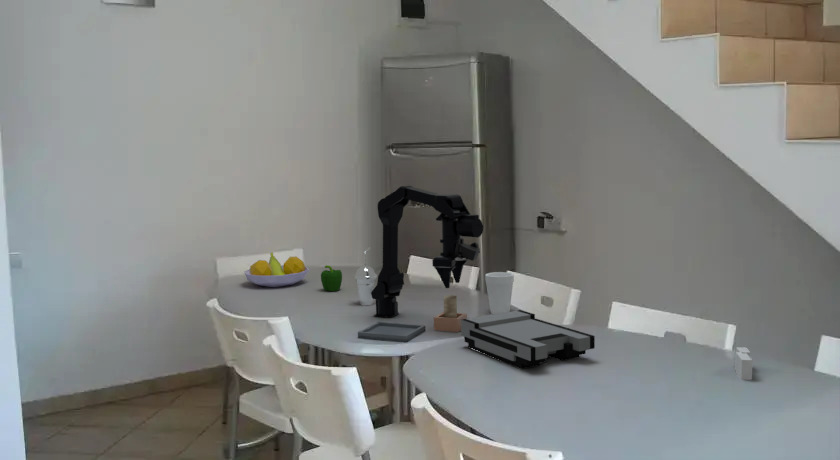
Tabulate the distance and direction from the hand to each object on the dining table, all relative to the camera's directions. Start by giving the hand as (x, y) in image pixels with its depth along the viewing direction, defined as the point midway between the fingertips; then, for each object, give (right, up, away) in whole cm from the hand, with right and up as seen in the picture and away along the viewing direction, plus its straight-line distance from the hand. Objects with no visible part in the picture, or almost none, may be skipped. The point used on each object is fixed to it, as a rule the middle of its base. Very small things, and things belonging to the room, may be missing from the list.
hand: (452, 285), depth 250 cm
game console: (+19, -17, -31) cm, 40 cm away
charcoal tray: (-19, -15, -6) cm, 24 cm away
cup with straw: (-29, -10, +40) cm, 50 cm away
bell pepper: (-45, -7, +67) cm, 81 cm away
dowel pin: (-1, -13, 0) cm, 13 cm away
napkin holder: (+70, -18, -53) cm, 89 cm away
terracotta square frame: (-1, -13, 0) cm, 13 cm away
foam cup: (+17, -11, +20) cm, 28 cm away
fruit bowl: (-69, -5, +85) cm, 110 cm away
